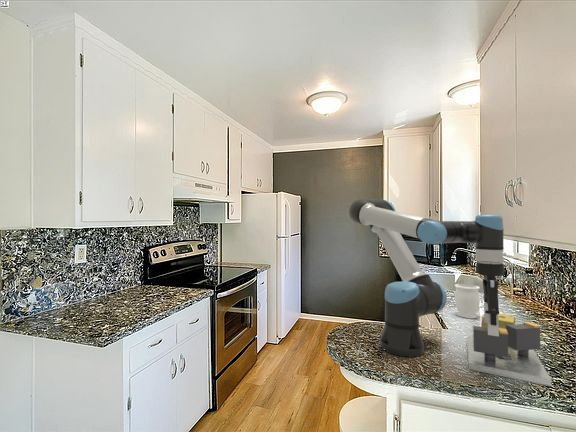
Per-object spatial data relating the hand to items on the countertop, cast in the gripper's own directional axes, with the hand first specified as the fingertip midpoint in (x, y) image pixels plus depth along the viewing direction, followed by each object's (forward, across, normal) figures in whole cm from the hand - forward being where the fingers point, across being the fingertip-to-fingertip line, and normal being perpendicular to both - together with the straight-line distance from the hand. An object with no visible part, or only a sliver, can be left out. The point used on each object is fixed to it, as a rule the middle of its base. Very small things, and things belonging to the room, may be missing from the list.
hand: (491, 328), depth 97 cm
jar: (+12, +57, +6) cm, 59 cm away
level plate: (+12, +6, -4) cm, 14 cm away
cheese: (+12, +26, -4) cm, 29 cm away
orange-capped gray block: (+10, +10, -10) cm, 17 cm away
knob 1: (+10, 0, 0) cm, 10 cm away
